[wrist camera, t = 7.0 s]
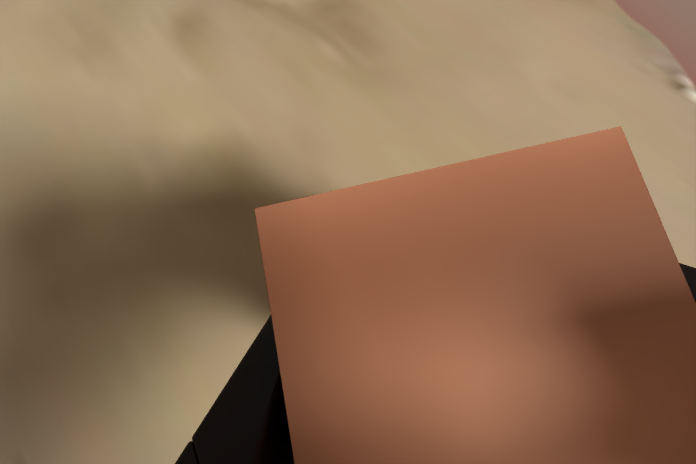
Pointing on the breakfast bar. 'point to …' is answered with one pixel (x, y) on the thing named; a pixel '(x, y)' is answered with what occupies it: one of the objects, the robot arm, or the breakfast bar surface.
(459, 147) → the breakfast bar surface
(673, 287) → the terracotta block
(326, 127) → the breakfast bar surface
